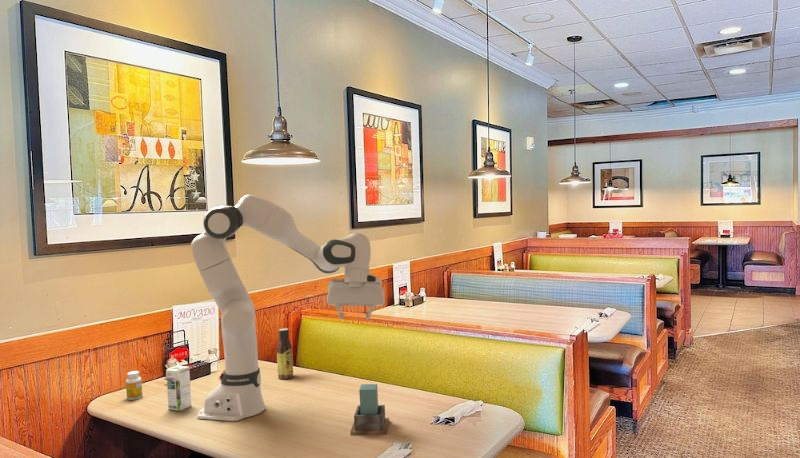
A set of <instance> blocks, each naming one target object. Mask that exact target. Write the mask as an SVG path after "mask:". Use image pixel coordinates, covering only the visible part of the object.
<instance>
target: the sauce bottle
mask: <svg viewBox="0 0 800 458" xmlns="http://www.w3.org/2000/svg"><path fill="white" fill-rule="evenodd" d="M289 331H290V330H289V328H287V327H286V328H279V329H278V334H279V335H278V337H279V338H278V340H279V341H278V343H277V345H276V363H277V364H276V365H277V376H278V377H277V378H278V379H280V380H287V379H288V380H289V379H291V378H293V376H294V360H293V359H294V358H293V357H294V356H293V346H292V344H291V341H290V338H289Z"/></svg>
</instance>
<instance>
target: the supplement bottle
mask: <svg viewBox="0 0 800 458" xmlns="http://www.w3.org/2000/svg"><path fill="white" fill-rule="evenodd" d="M142 381H143V380H142V377H141V376H140V371H139V370H131V371H129V372H127V379H126V380H125V388H126V391H125V392H126V399H127V400H129V401H132V400H133V401H134V400H139V399H141V398H143V395H144V394H143V382H142Z"/></svg>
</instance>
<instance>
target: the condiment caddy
mask: <svg viewBox="0 0 800 458" xmlns="http://www.w3.org/2000/svg"><path fill="white" fill-rule="evenodd" d="M385 408H386V405H385V404H378V411H379V415H361V413H360V404H359V405H357V407H356V410H355V413H354V415H353V423H352V427H351V429H350V435H351V436H353V435H354V436H356V435H357V436H358V435H361V436H362V435H363V436H365V435H388V429H389V424H390V417H386V409H385Z"/></svg>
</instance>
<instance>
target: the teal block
mask: <svg viewBox="0 0 800 458" xmlns="http://www.w3.org/2000/svg"><path fill="white" fill-rule="evenodd" d="M358 392H359V405H360V413H361V415H379V411H378V405H379V393H378V384H377V383H371V384H368V383H367V384H362V383H361V385H360V387H359V390H358Z"/></svg>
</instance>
